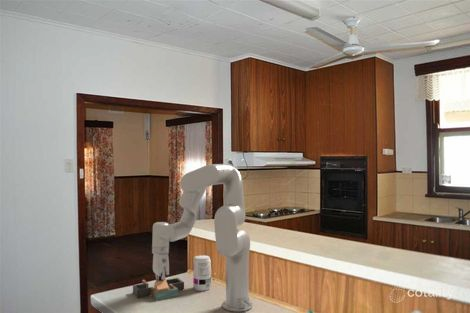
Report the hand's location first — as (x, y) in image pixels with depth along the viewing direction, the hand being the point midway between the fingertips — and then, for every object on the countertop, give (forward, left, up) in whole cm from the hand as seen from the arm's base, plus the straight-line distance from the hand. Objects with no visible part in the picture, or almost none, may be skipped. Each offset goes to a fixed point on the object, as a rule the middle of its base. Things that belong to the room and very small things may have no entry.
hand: (159, 289), depth 172 cm
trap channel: (+3, -1, -2) cm, 3 cm away
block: (-4, +1, -1) cm, 4 cm away
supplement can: (-4, -20, -2) cm, 20 cm away
